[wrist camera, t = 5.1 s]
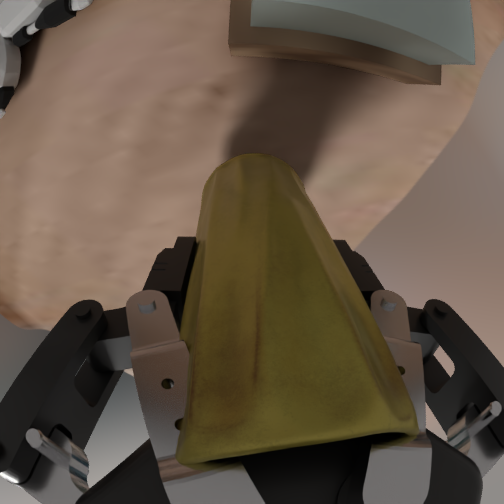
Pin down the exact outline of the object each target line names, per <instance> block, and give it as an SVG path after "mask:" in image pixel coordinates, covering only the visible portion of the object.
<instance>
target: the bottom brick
mask: <svg viewBox="0 0 504 504" xmlns="http://www.w3.org/2000/svg"><path fill="white" fill-rule="evenodd" d="M251 4H252V0H231V4H230V21H229V41H228V44H229V48H230V52H231V56H248V57H269V58H282V59H292V60H301V61H309V62H316V63H322V64H328V65H334V66H339V67H344V68H349V69H354V70H358V71H363V72H367V73H371V74H375V75H379V76H382V77H386V78H389V79H393V80H396V81H399V82H403V83H406V84H428V85H441V65H428V64H425V63H423V62H420V61H418V60H415V59H413V58H410V57H407V56H405V55H402V54H399V53H396V52H393V51H390V50H387V49H383V48H380V47H377V46H373V45H370V44H366V43H362V42H358V41H354V40H350V39H346V38H341V37H336V36H331V35H326V34H320V33H314V32H308V31H301V30H293V29H283V28H272V27H255V26H250V25H251Z"/></svg>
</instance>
